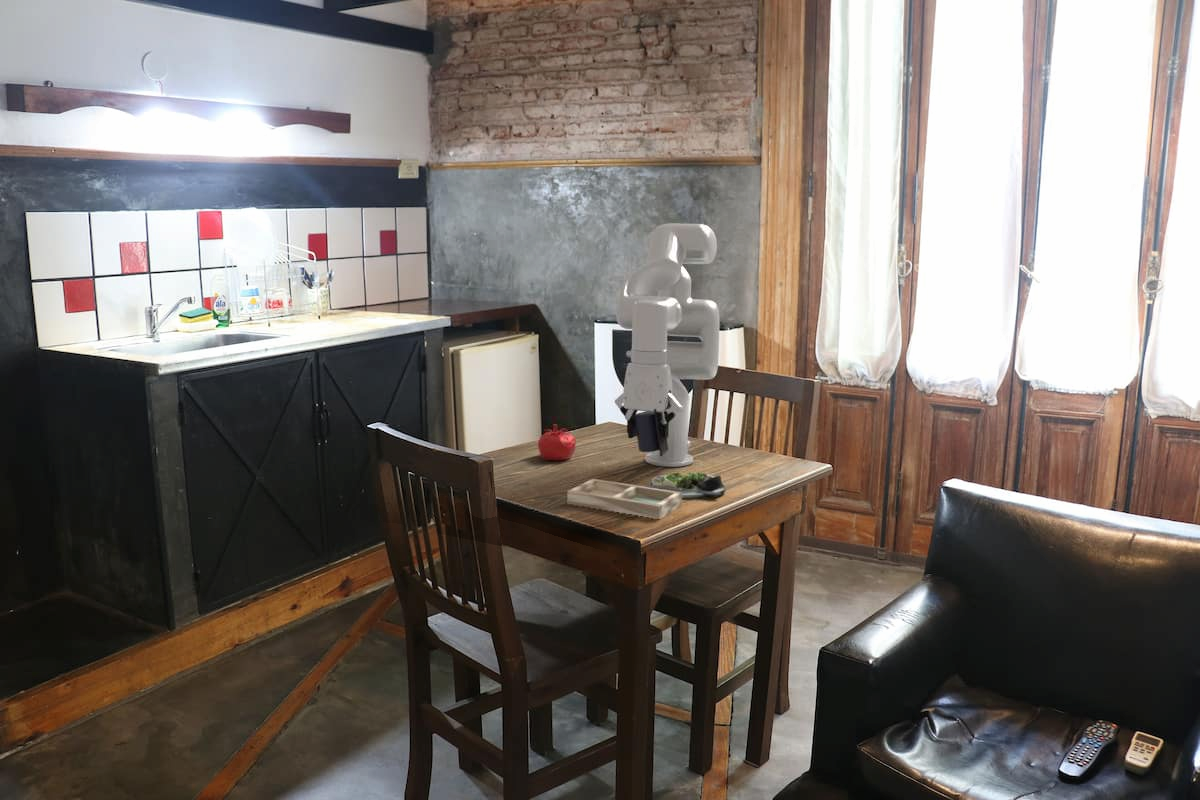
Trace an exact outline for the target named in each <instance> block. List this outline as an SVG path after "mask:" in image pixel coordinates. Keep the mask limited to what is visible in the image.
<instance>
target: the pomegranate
mask: <svg viewBox="0 0 1200 800" xmlns="http://www.w3.org/2000/svg"><path fill="white" fill-rule="evenodd" d="M552 426H553V431H552V429H543V430H544V431H545V433H543V434H542V435H541V436H540V437H539V440H538V442H537V447H538V451H539V455H540V457H541V458H542V459H543V460H546V461H550V460H553V462H555V461H557V462H558V461H559V460H560V461H561V460H562V461H567V460H569V459H570V458H571V457H573V455H574V454H575V452H576V445H577V440H576V438H575V437H574V436H573V435H572V434H570V433H571V432H570V431H568V430H564V428H561V429H560V430H558V424H556V423H553V424H552ZM560 461H559V462H560Z"/></svg>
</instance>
